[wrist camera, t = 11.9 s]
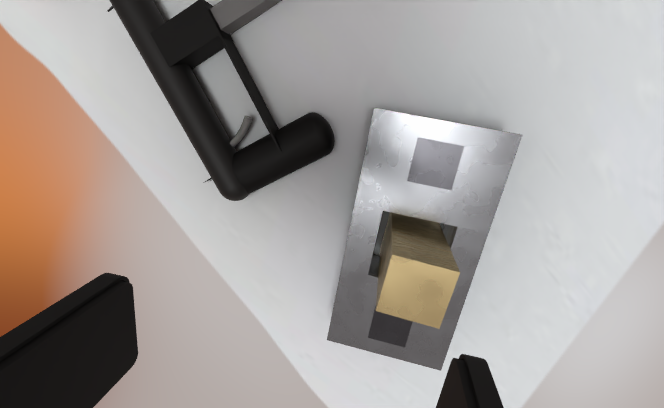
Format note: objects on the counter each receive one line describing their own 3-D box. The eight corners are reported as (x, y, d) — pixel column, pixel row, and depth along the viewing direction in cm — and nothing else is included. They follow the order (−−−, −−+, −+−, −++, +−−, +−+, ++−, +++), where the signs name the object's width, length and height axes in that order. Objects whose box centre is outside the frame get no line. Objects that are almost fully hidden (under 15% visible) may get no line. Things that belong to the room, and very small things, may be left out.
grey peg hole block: (376, 108, 27) (374, 108, 23) (502, 131, 25) (522, 134, 22) (334, 313, 33) (326, 340, 29) (434, 339, 32) (440, 371, 28)
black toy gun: (254, -147, 22) (79, -13, 25) (381, 131, 25) (212, 214, 29) (269, -113, 25) (112, 2, 28) (380, 129, 28) (228, 205, 32)
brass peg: (391, 206, 29) (392, 254, 19) (436, 217, 28) (460, 272, 19) (380, 247, 30) (375, 310, 20) (423, 258, 30) (439, 328, 20)
